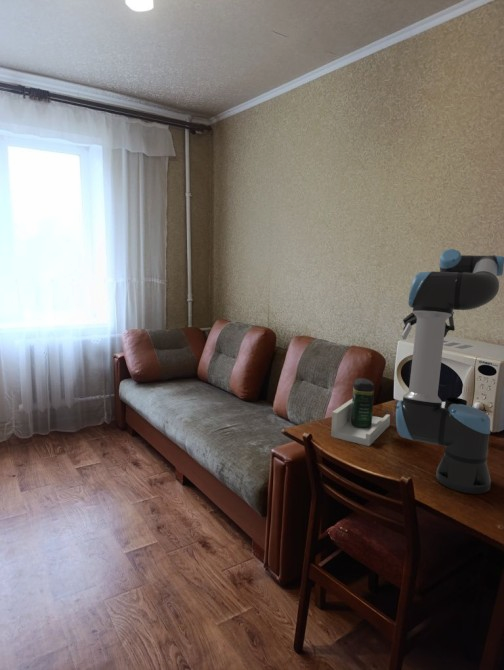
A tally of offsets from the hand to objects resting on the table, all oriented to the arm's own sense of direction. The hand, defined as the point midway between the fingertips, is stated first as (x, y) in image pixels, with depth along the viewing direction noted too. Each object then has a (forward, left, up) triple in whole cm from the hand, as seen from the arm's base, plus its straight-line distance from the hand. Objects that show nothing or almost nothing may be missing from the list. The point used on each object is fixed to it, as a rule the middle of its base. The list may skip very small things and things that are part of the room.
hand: (419, 340), depth 166 cm
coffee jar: (-10, +18, -35) cm, 41 cm away
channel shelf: (-10, +17, -38) cm, 43 cm away
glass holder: (+4, -17, -38) cm, 42 cm away
